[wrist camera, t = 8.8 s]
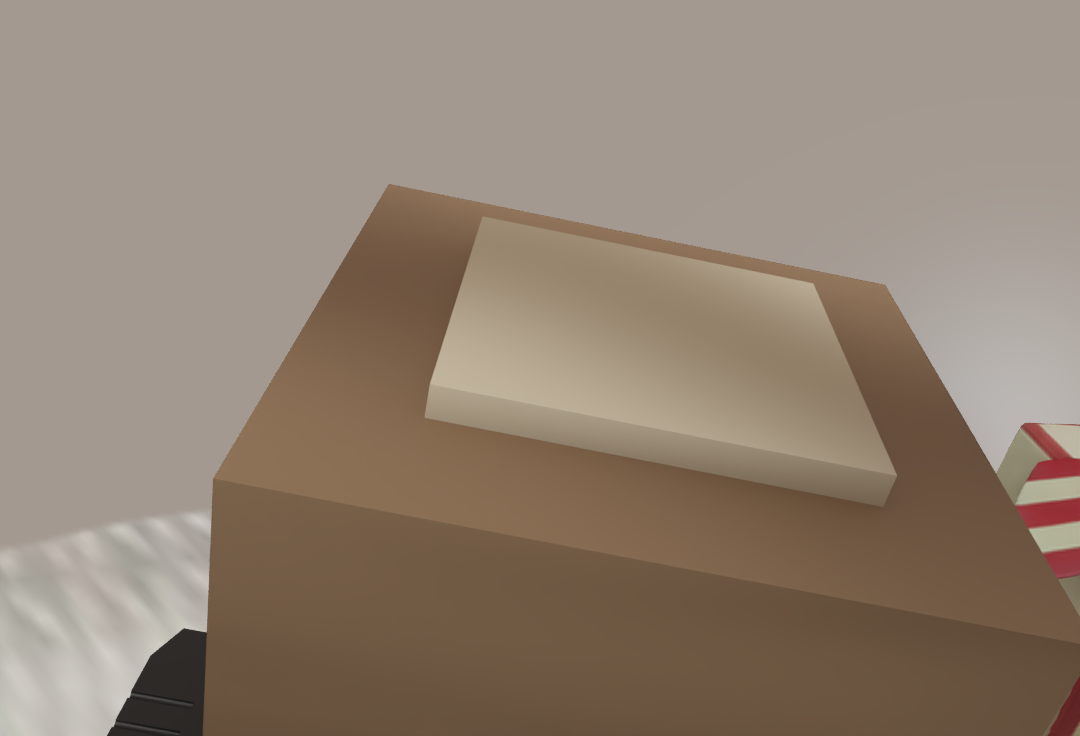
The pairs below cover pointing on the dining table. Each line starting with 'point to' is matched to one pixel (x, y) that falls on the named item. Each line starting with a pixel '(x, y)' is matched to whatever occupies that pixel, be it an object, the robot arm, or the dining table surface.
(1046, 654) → the walnut block
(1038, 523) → the gift box
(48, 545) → the dining table surface
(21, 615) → the dining table surface
